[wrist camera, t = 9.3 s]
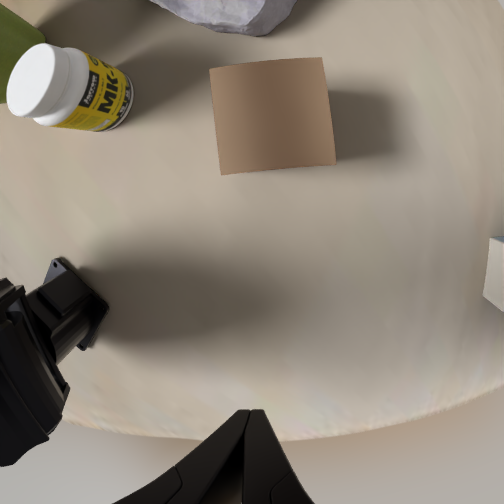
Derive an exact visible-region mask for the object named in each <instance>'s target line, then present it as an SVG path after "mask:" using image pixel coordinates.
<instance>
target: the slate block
mask: <svg viewBox="0 0 504 504" xmlns="http://www.w3.org/2000/svg"><path fill="white" fill-rule="evenodd" d="M482 296H484V297H485V298H486V299H487V300H489V301H490V302H491V303H492V304H494V305H495V306H496V307H497V308H499V309H500V310H501V311H502V312H504V236H503V237H493V238H490V243H489V253H488V262H487V270H486V277H485V284H484V290H483V295H482Z"/></svg>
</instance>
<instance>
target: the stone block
mask: <svg viewBox="0 0 504 504" xmlns="http://www.w3.org/2000/svg"><path fill="white" fill-rule="evenodd" d="M149 1H152V2H154V3H156V4H158V5H159V6H160V7H162V8H165V9H167V10H169V11H171V12H172V13H174V14H175V15H176V16H179V17H181V18H183V19H185V20H187V21H189V22H191V23H193V24H198V25H203V26H204V27H206V28H209V29H212V30H213V31H216V32H230V33H238V34H247V35H252V36H259V35H262V36H263V35H267V34H268V33H269V32H271V31H272V30H273V29H274V28H275V27H276V26H277V25H278V24H279V23H281V22H282V21H284V20H285V19H286V17H288V16H289V15H290V12H291V10H292V7H293V6H294V4H295V3H296V2H297V0H149Z"/></svg>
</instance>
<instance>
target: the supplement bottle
mask: <svg viewBox="0 0 504 504" xmlns="http://www.w3.org/2000/svg"><path fill="white" fill-rule="evenodd" d="M132 102H133V86H132V83H131V81H130V79H129V77H128V76H127V75H126V74H125V73H123V72H121V71H120V70H118V69H116V68H114V67H112V66H110V65H108V64H106V63H105V62H103V61H101V60H99V59H97V58H95V57H93V56H91V55H89V54H87V53H85V52H83V51H81V50H78V49H75V48H60V47H56V46H53V45H50V44H46V43H42V44H38V45H35V46H33V47H32V48H30V49H29V50H28V51H27V52H26V53H25V54H24V55H23V56H22V57H21V58H20V59H19V61H18V62H17V64H16V65H15V67H14V69H13V71H12V73H11V76H10V79H9V82H8V86H7V104H8V107H9V109H10V111H11V112H12V113H13V114H14V115H16V116H20V117H29V118H33V119H34V120H35V121H36V122H37V123H39V124H41V125H44V126H50V127H60V128H70V129H79V130H87V131H94V132H103V131H107V130H110V129H112V128H114V127H116V126H117V125H118V124H119V123H121V122H122V121H123V119H124V118H125V117H126V116H127V114H128V112H129V110H130V108H131V106H132Z"/></svg>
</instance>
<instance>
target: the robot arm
mask: <svg viewBox="0 0 504 504" xmlns="http://www.w3.org/2000/svg"><path fill="white" fill-rule="evenodd" d="M56 263H57V265H56ZM25 293H26V291H25V289H24V286H23V285H19V286H14V285H13V284H12V283H11V282H10V281H9V280H8V279H7V278H2V279H0V466H1V467H4V466H9V465H13V464H14V463H15V462H17V461H18V460H19V459H20V458H21V457H22V456H23V455H24V454H25V453H26V452H27V451H28V450H30V449H32V448H33V447H35V446H36V445H38V444H41V443H44V442H46V441H48V440H49V437H48V435H49V434H51V432H53V431H54V430H55V428H56V427H57V425H58V424H59V422H60V421H61V419H62V411H63V408H64V405H65V402H66V400H67V397H68V394H69V391H70V387H69V385H68V383H67V382H65V380H64V378H63V376H62V375H61V373H60V371H59V369H58V367H57V365H58V364H59V363H60V362H61V361H62V360H63V359H64V358H65V357H66V356H67V355H68V354H69V353H70V352H71V351H72V349H73V348H74V347H75V346H77V347H78V348H79V349H80V350H82V351H85V350H86V349H87V348H88V346H89V344H90V342H91V340H92V339H93V337H94V335H95V333H96V331H97V330H98V328H99V326H100V324H101V323H102V321H103V319H104V317H105V316H106V314H107V312H108V311H109V306H108V304H107V303H106V302H105V301H104V300H103V299H101V298H100V297H99V296H98V295H97V294H96V293H95V292H94V291H92V290H91V289H90V288H89V287H88V286H87V285H86V284H85V283H84V282H83V281H82V280H81V279H80V278H78V277H77V276H76V275H75V274H74V273H73V272H72V271H71V270H70V269H69V268H68V267H67V266H66V265H65V264H64V263H63V262H62V261H61V260H60V259H59V258H55V259H53V260H52V262H51V264H50V267H49V269H48V272H47V275H46V277H45V280H44V283H43V285H41V286H40V287H38V288H36V289H35V290H33V291H32V292H30V293H28V294H27V295H25ZM101 306H102V307H103V308H104V309H103V308H102V307H101ZM241 503H242V504H315V503H314V502H313V501H312V500H311V498H310V497H309V496H308V494H307V493H306V491H305V490H304V488H303V487H302V485H301V483H300V482H299V480H298V478H297V476H296V474H295V472H293V469H292V467H291V465H290V463H289V461H288V459H287V457H286V455H285V453H284V451H283V449H282V447H281V445H280V443H279V441H278V439H277V437H276V435H275V433H274V431H273V429H272V426H271V424H270V422H269V420H268V418H267V416H266V414H265V412H264V410H263V409H253V410H251V411H250V410H249V409H248V410H238V411H236V412H235V413H234V414H233V415H232V416H231V417H230V418H229V419H228V420H227V421H226V422H225V423H223V424H222V425H221V426H220V427H219V428H218V429H217V430H216V431H215V432H213V433H212V434H211V435H210V436H209V437H208V438H207V439H205V440H204V441H203V442H202V443H201V444H200V445H199V446H198V447H196V448H195V449H194V450H193V451H191V452H190V453H189V454H188V455H187V456H185V457H184V458H183V459H182V460H181V461H179V462H178V463H177V464H176V465H175V466H173V467H171V468H170V469H169V470H167V471H166V472H165V473H163V474H162V475H161V476H159V477H158V478H157V479H155V480H154V481H152V482H151V483H149V484H147V485H146V486H144V487H143V488H141V489H139V490H137V491H135V492H134V493H132V494H130V495H128V496H126V497H124V498H122V499H121V500H119V501H117V502H115V503H113V504H241Z"/></svg>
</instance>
